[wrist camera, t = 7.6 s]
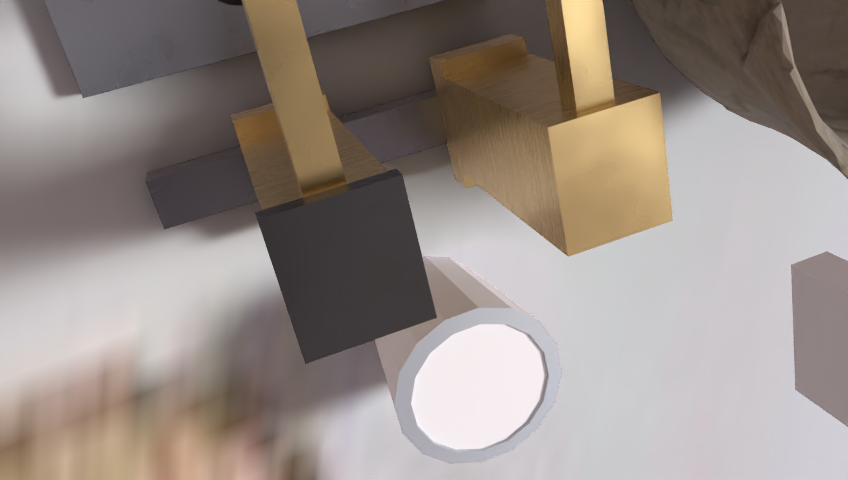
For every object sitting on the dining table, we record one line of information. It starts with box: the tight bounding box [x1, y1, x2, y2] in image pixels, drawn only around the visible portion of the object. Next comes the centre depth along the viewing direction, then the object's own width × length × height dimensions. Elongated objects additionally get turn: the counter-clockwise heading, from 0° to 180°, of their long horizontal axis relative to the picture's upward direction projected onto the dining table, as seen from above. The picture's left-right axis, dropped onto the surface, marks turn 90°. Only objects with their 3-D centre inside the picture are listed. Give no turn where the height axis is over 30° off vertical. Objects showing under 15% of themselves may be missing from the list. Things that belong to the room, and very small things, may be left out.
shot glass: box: [375, 257, 562, 464], centre depth 33 cm, size 7×7×7 cm
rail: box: [146, 89, 447, 229], centre depth 32 cm, size 15×2×1 cm, turn 102°
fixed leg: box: [429, 0, 673, 256], centre depth 26 cm, size 4×12×11 cm, turn 12°
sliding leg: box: [230, 0, 437, 364], centre depth 24 cm, size 4×12×11 cm, turn 12°
